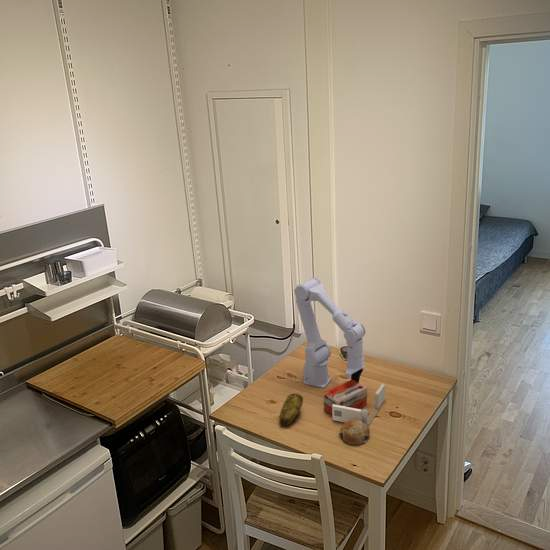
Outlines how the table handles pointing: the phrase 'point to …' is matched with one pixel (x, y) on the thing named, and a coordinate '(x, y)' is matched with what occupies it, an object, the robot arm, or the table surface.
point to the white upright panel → (378, 401)
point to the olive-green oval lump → (290, 408)
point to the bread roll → (354, 432)
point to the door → (345, 413)
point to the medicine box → (346, 396)
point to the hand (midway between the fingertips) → (355, 385)
